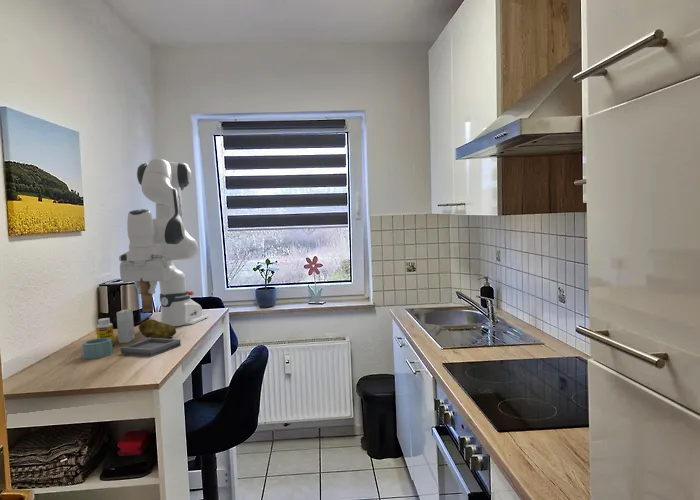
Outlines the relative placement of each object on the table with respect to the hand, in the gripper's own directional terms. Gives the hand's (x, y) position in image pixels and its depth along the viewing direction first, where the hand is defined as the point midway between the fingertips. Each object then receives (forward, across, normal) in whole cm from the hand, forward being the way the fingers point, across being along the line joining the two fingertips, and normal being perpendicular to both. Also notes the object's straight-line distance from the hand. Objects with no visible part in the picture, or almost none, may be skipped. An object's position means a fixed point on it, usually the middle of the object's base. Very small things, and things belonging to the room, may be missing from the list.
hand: (146, 293), depth 175 cm
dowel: (+6, 0, 0) cm, 6 cm away
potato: (+20, +10, -13) cm, 26 cm away
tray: (+20, 0, 0) cm, 20 cm away
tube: (+20, +15, +10) cm, 27 cm away
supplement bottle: (+20, +24, -1) cm, 32 cm away
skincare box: (+20, +21, -8) cm, 30 cm away
